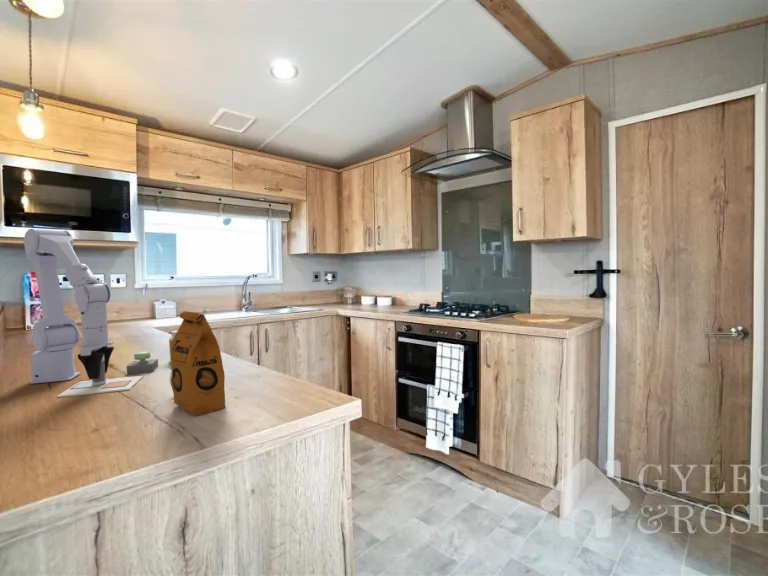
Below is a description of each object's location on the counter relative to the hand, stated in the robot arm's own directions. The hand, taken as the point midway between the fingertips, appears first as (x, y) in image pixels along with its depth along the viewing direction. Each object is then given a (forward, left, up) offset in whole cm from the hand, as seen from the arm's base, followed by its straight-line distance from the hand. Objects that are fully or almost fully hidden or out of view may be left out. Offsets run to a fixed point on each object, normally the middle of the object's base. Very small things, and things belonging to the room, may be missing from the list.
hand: (98, 376), depth 108 cm
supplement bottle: (+15, +26, -3) cm, 30 cm away
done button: (+7, +15, -2) cm, 17 cm away
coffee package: (+29, -28, -3) cm, 41 cm away
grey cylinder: (0, 0, -2) cm, 2 cm away
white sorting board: (+1, -1, -3) cm, 3 cm away
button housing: (+7, +15, -3) cm, 17 cm away
